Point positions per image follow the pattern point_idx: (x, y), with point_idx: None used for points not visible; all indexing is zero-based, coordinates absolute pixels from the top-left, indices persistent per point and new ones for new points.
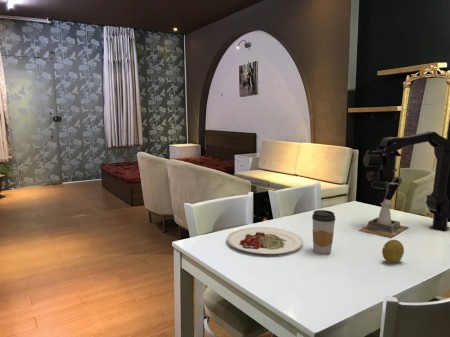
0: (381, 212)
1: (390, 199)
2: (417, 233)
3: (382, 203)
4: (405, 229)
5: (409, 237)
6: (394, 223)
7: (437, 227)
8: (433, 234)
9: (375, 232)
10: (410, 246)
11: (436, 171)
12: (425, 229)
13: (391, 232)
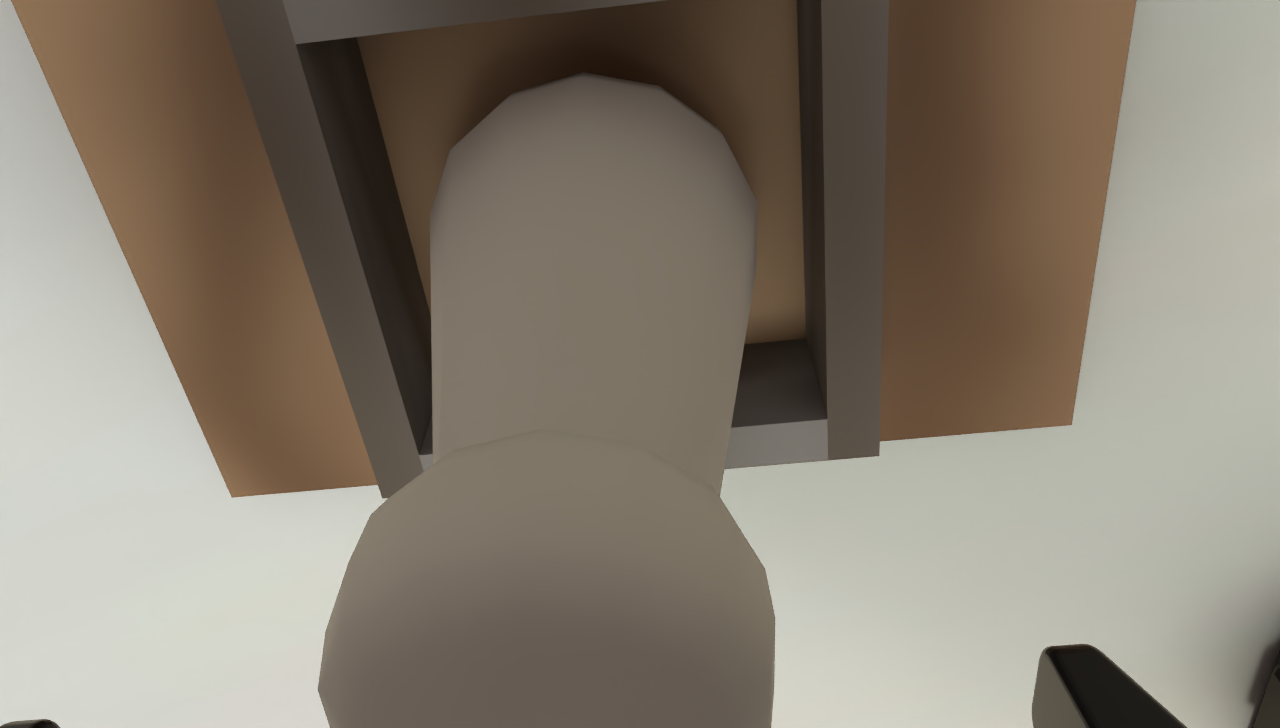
0: (435, 361)
1: (1039, 716)
2: (845, 594)
3: (332, 621)
4: (917, 426)
5: None
6: None
7: (1269, 715)
8: (968, 711)
9: (177, 229)
10: (209, 724)
11: None
12: (1173, 585)
13: None
